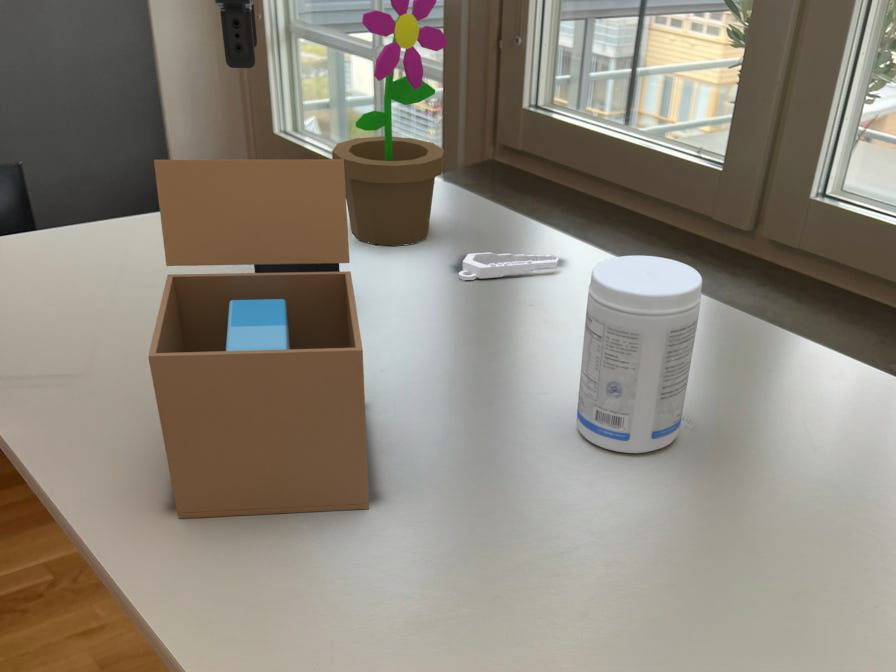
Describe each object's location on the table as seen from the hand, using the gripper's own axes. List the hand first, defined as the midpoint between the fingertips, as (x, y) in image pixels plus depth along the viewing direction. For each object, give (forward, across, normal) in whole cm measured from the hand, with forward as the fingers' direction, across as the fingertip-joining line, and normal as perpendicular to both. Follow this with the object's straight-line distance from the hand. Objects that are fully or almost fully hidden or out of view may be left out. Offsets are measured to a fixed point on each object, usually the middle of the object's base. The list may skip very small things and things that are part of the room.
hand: (242, 56), depth 79 cm
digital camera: (+28, -22, +3) cm, 36 cm away
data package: (+28, +16, 0) cm, 32 cm away
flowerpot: (+28, -44, +15) cm, 54 cm away
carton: (+28, +16, 0) cm, 32 cm away
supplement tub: (+28, +13, +32) cm, 44 cm away
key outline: (+28, -30, +28) cm, 49 cm away
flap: (+10, +7, 0) cm, 12 cm away
